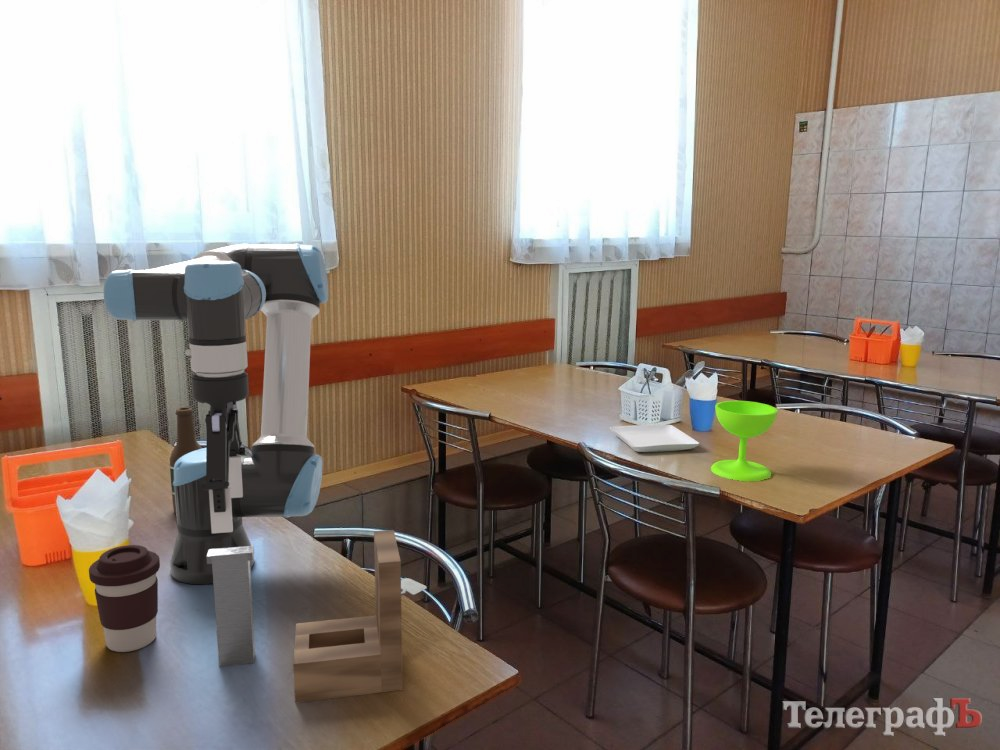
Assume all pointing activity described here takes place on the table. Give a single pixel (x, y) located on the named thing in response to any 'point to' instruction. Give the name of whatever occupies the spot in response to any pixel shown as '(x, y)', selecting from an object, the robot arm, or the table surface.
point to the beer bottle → (183, 441)
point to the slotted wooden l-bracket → (355, 640)
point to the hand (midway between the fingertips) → (228, 513)
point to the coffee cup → (127, 596)
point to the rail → (233, 604)
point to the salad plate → (654, 438)
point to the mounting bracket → (411, 586)
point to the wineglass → (743, 437)
